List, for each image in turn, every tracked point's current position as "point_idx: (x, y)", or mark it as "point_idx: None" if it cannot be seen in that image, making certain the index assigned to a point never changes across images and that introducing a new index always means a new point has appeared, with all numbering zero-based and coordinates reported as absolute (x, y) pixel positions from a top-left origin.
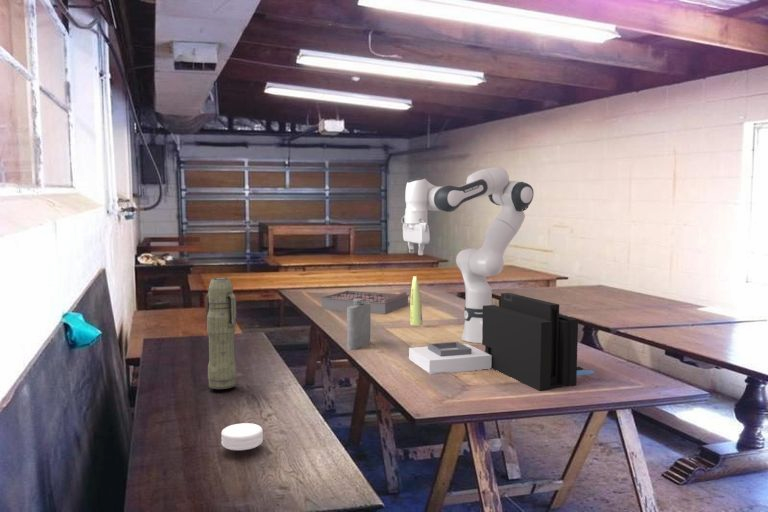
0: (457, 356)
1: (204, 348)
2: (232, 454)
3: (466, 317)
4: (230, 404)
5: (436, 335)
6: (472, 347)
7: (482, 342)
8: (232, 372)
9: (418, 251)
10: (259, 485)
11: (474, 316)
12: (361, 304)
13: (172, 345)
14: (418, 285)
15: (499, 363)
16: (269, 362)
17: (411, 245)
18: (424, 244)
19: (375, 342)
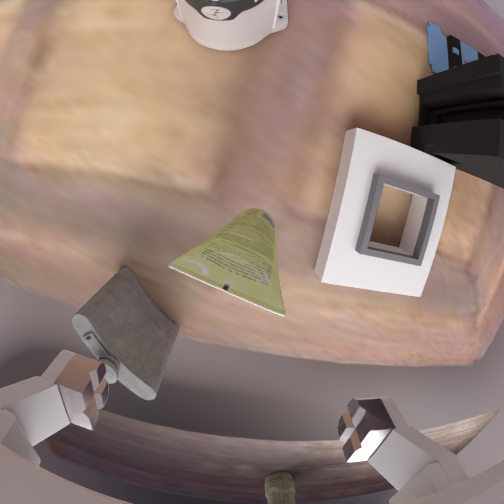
0: (431, 232)
1: (103, 451)
2: None
3: (222, 17)
4: (340, 473)
5: (115, 72)
6: (394, 146)
7: (436, 153)
8: (293, 485)
9: (367, 453)
10: (456, 448)
11: (253, 6)
12: (101, 348)
13: (85, 459)
14: (274, 273)
15: (465, 169)
16: (202, 439)
17: (23, 420)
18: (462, 473)
19: (116, 248)
